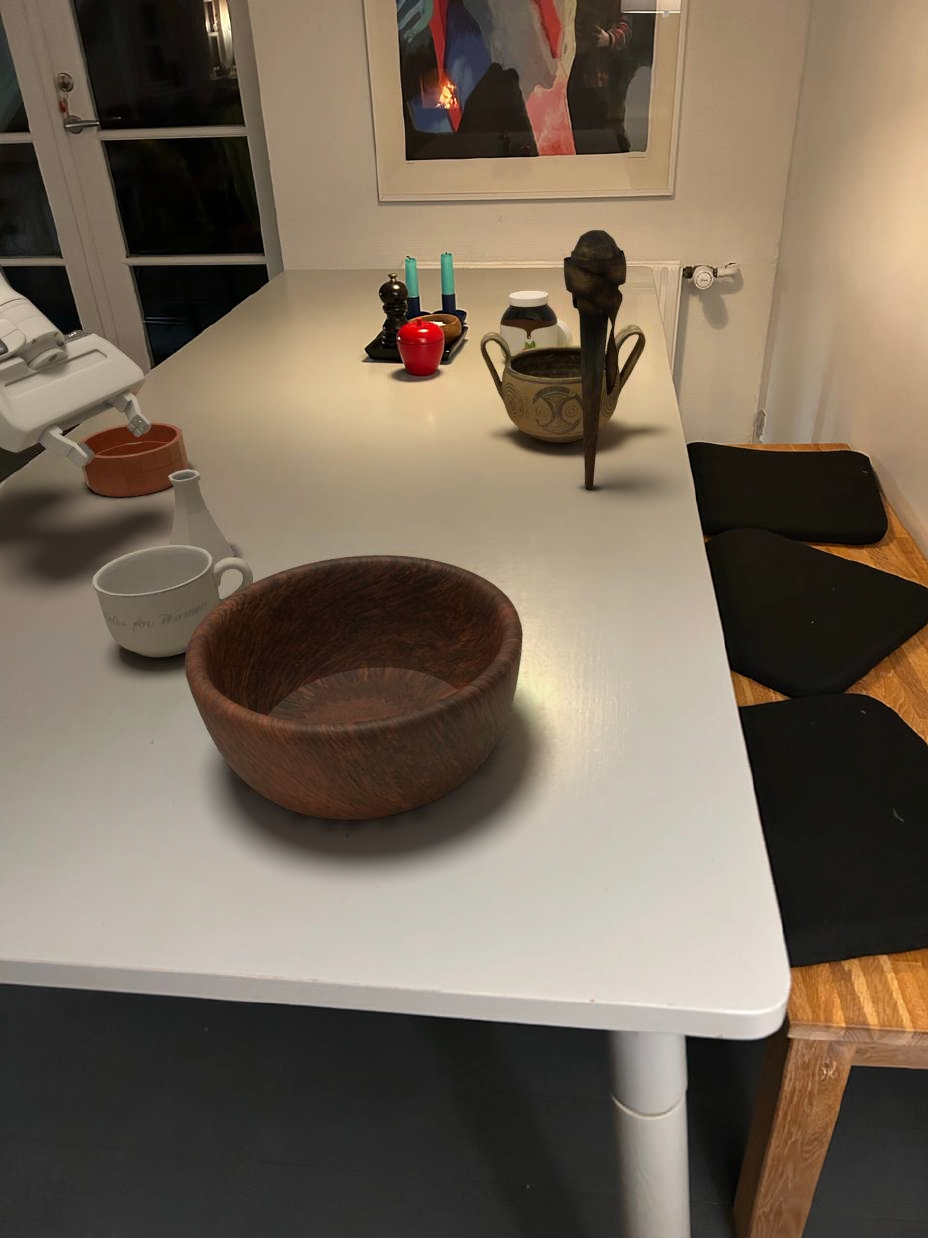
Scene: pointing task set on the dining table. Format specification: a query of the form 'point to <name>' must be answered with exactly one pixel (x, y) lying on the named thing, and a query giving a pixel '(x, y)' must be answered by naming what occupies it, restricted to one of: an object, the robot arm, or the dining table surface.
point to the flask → (195, 518)
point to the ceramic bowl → (554, 386)
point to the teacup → (162, 596)
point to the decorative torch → (595, 325)
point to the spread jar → (532, 323)
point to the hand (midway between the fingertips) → (118, 446)
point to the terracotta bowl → (134, 460)
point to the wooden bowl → (357, 682)
